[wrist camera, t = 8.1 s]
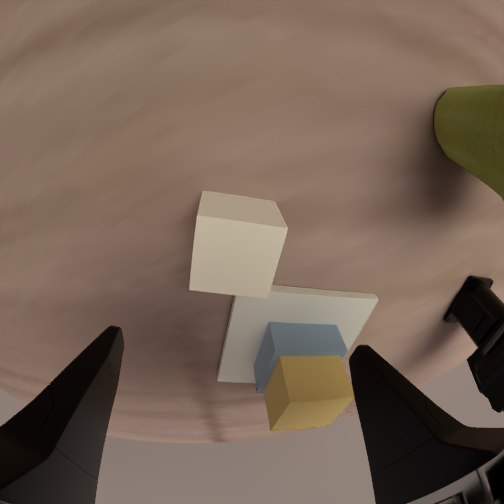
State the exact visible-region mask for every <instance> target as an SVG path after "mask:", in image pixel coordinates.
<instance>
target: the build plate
mask: <svg viewBox="0 0 504 504" xmlns="http://www.w3.org/2000/svg"><path fill="white" fill-rule="evenodd" d="M378 300H379V299H378V297H377V296H376V294H373V293H359V292H346V291H334V290H322V289H311V288H300V287H290V286H280V285H271V289H270V292H269V295H268V298H258V297H248V296H238V295H234V299H233V303H232V308H231V313H230V317H229V322H228V327H227V331H226V336H225V341H224V345H223V350H222V355H221V360H220V364H219V369H218V374H217V381H219V382H237V383H255V375H254V367H253V366H254V363H255V360H256V358H257V355H258V352H259V349H260V347H261V344H262V341H263V338H264V335H265V332H266V330H267V327H268V324H269V322H283V323H302V324H330V325H337V327H338V329H339V332H340V334H341V336H342V338H343V341H344V343H345V345H346V348H347V350H348V351H349V349H350V347H351V346H352V344H353V343H354V341H355V339H356V338H357V336H358V335H359V333H360V331H361V330H362V328H363V326H364V325H365V323H366V321H367V320H368V318H369V316H370V314H371V313H372V311H373V309H374V307H375V306H376V304H377V302H378ZM348 351H347V352H348ZM346 354H347V353H346ZM346 354H345V355H346ZM344 357H345V356H344ZM344 357H343V358H344ZM342 360H343V359H342Z"/></svg>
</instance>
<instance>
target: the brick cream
mask: <svg viewBox="0 0 504 504" xmlns="http://www.w3.org/2000/svg"><path fill="white" fill-rule="evenodd" d="M287 231H288V227H287V225H286V223H285V221H284V219H283V217H282V215H281V213H280V211H279V209H278V207H277V205H276V203H275V201H269V200H263V199H257V198H250V197H244V196H238V195H231V194H224V193H217V192H210V191H202V196H201V200H200V204H199V209H198V213H197V220H196V228H195V236H194V245H193V254H192V264H191V274H190V285H189V290H193V291H202V292H210V293H219V294H228V295H238V296H248V297H258V298H268V295H269V292H270V289H271V285H272V282H273V279H274V275H275V272H276V269H277V265H278V262H279V258H280V255H281V252H282V248H283V245H284V241H285V238H286V234H287Z"/></svg>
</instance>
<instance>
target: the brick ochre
mask: <svg viewBox="0 0 504 504" xmlns="http://www.w3.org/2000/svg"><path fill="white" fill-rule="evenodd" d="M264 392H265V399H266V405H267V412H268V418H269V425H270V431H281V430H295V429H306V428H315V427H323V426H328V425H329V424H330V423H331V422H332V421H333V420H334V419H335V418H336V417H337V416H338V415H339V414H340V413H341V412H342V411H343V410H344V409H345V408H346V407H347V406H348V404H349V403H350V402H351V401H352V400H353V399H354V393H353V388H352V385H351V383H350V380H349V377H348V375H347V372H346V370H345V367H344V365H343V362H342V360H341V357H340V355H338V356H280V357H279V360H278V362H277V364H276V366H275V368H274V371H273V373H272V375H271V377H270V379H269V382H268V384H267V386H266V388H265V390H264Z"/></svg>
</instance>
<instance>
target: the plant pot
mask: <svg viewBox="0 0 504 504" xmlns="http://www.w3.org/2000/svg"><path fill="white" fill-rule="evenodd" d="M434 128H435V134H436V138H437V141H438V143H439V144H440V146H441V147H442V149H443V151H444V152H445V154H446V156H447V157H448V158H449V159H451V160H452V161H454V162H455V163H457V164H458V165H460V166H461V167H463V168H464V169H466V170H467V171H469V172H470V173H472V174H473V175H475V176H476V177H477V178H479V179H480V180H481V181H483V182H484V183H485V184H487V185H488V186H489V187H490V188H492V189H493V190H494V191H495V192H496V193H498V194H499V195H500V196H501V197H502V199H503V201H504V85H484V86H467V87H455V88H450V89H448V90H446V92H445V94H444V95H443V96H442V97H441V98H440V99H439V100H438V102H437V104H436V108H435V114H434Z"/></svg>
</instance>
